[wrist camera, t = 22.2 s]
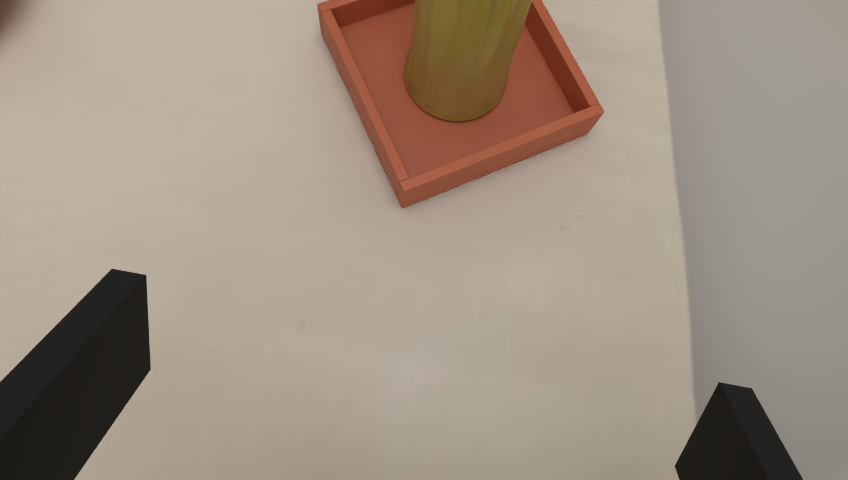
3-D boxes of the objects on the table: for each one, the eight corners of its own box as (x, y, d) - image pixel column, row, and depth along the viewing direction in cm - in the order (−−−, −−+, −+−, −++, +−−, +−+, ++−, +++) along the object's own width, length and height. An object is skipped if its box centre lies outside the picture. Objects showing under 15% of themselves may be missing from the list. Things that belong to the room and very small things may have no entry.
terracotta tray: (588, 133, 38) (604, 111, 35) (401, 208, 36) (404, 191, 33) (499, -28, 40) (508, -60, 38) (320, 32, 38) (316, 3, 36)
